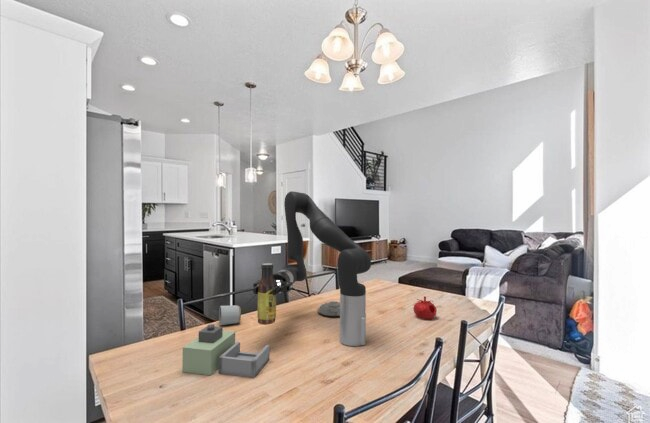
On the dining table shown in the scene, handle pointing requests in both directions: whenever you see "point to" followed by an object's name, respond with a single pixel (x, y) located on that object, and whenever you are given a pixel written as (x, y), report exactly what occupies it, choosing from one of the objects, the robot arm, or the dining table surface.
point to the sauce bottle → (266, 296)
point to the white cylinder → (229, 315)
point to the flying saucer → (330, 309)
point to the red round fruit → (425, 309)
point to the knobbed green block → (221, 355)
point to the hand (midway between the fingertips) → (264, 291)
